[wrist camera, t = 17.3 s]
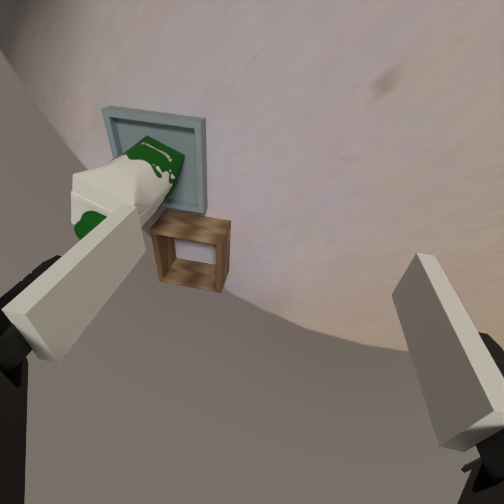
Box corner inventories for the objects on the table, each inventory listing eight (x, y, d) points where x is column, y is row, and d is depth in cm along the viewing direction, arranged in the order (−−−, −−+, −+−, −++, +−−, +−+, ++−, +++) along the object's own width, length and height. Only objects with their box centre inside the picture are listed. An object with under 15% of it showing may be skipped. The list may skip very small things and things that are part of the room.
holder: (172, 260, 64) (159, 281, 58) (165, 210, 55) (150, 228, 50) (228, 270, 63) (221, 292, 57) (230, 220, 54) (221, 241, 49)
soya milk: (134, 172, 50) (54, 232, 35) (143, 126, 45) (53, 172, 29) (178, 194, 52) (120, 262, 36) (192, 152, 46) (131, 210, 30)
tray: (129, 194, 55) (123, 200, 53) (110, 105, 45) (101, 108, 43) (207, 207, 53) (203, 213, 51) (205, 118, 43) (200, 122, 41)
